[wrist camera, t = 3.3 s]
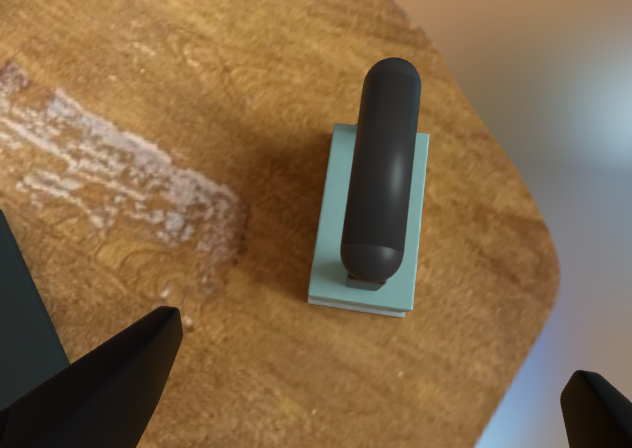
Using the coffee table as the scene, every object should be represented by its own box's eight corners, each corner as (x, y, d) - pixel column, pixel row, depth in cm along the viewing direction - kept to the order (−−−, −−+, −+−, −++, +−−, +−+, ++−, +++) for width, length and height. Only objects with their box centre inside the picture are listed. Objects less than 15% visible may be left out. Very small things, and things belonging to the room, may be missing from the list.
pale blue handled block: (402, 318, 21) (449, 313, 12) (307, 303, 22) (288, 289, 13) (420, 143, 24) (470, 34, 15) (334, 132, 24) (333, 21, 15)
